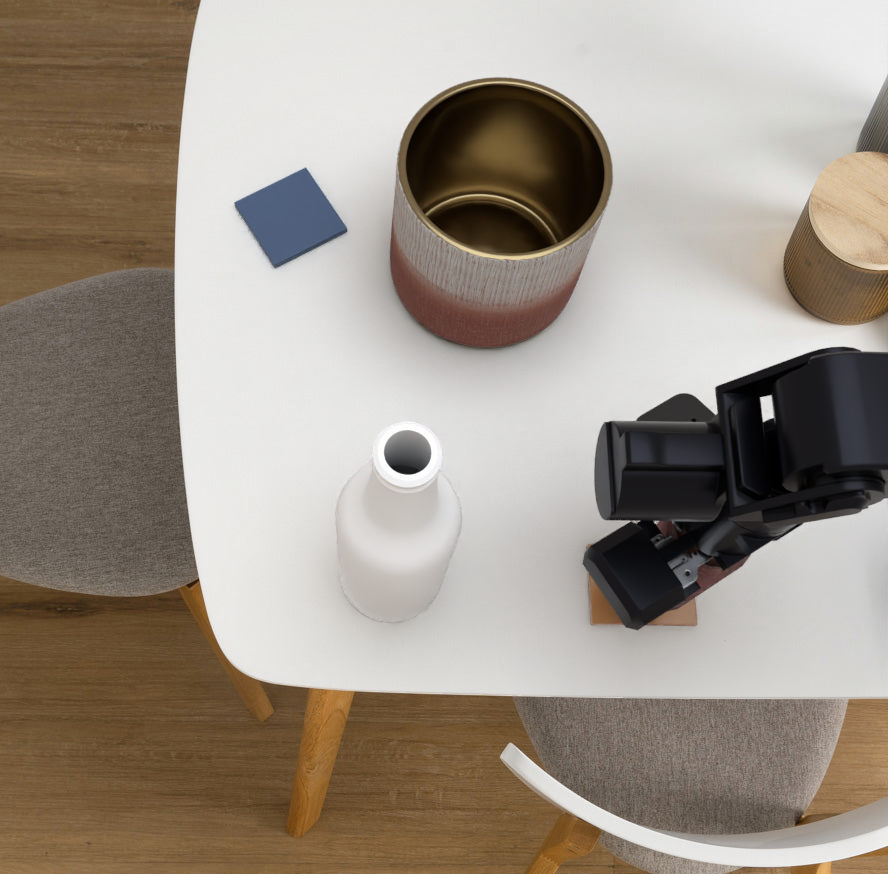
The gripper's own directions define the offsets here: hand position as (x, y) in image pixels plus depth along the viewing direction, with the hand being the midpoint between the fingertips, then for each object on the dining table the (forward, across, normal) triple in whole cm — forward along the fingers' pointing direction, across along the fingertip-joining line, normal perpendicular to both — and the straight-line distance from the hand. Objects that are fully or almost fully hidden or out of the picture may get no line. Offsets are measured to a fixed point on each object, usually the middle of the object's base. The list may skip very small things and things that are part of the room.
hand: (681, 552), depth 73 cm
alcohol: (+11, +18, -12) cm, 24 cm away
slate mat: (+11, +8, -47) cm, 49 cm away
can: (+7, 0, 0) cm, 7 cm away
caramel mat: (+11, 0, 0) cm, 11 cm away
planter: (+11, -5, -33) cm, 35 cm away
